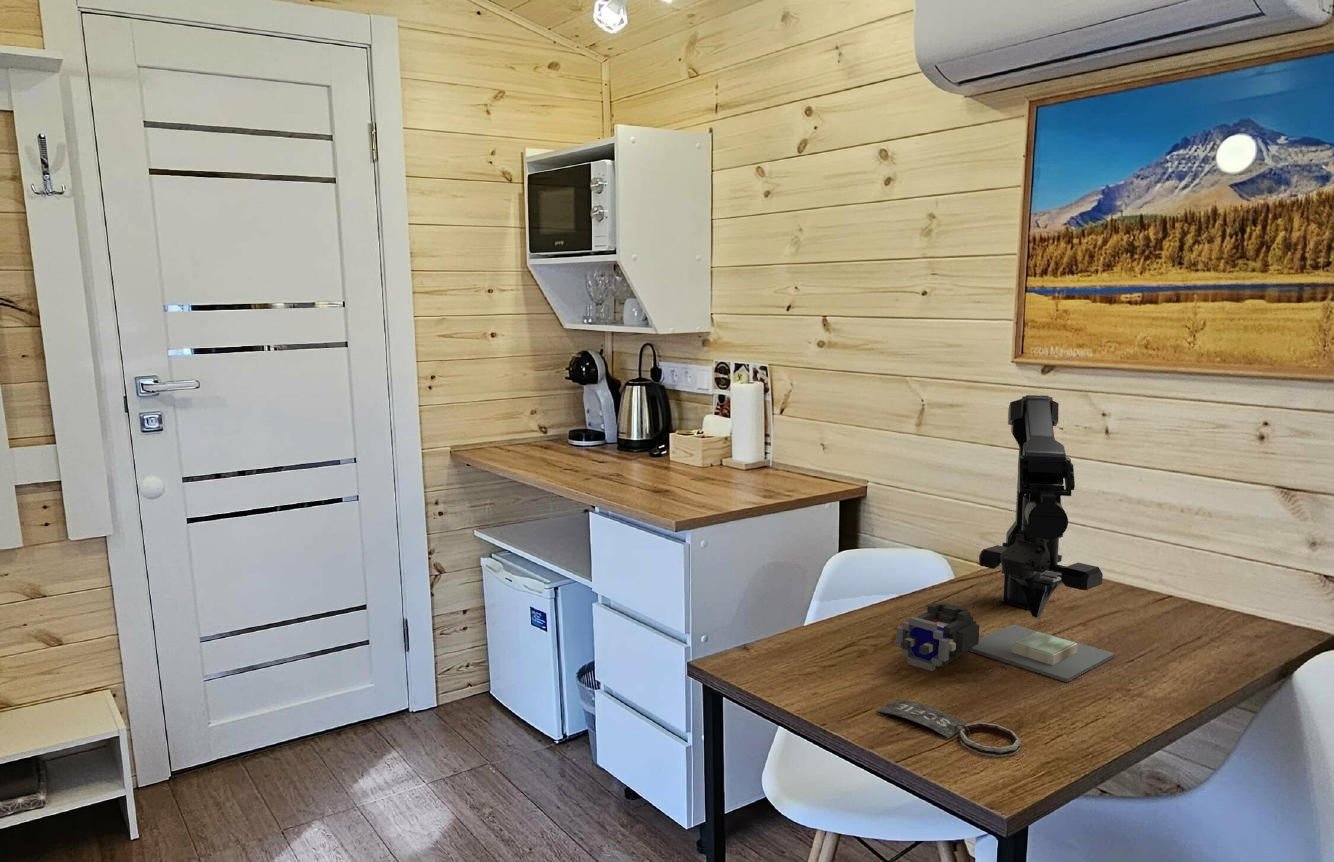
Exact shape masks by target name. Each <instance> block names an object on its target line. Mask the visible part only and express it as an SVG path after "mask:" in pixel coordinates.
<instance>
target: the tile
mask: <svg viewBox="0 0 1334 862" xmlns="http://www.w3.org/2000/svg"><path fill="white" fill-rule="evenodd" d="M1040 632H1041V631H1038V632H1036V633H1034V634H1031V635H1029V636H1027V637H1025V638H1023V639H1020V640H1018V641H1016V642H1014V643H1012V653H1015V654H1018V655H1022V656H1025V657H1028V658H1031V659H1034V660H1038V661H1041V662H1044V663H1047V664H1050V665H1054V664H1056V663H1058V662H1060V661H1062V660H1064V659H1066V658H1068V657H1070V656H1072V655H1074V654H1076V653H1077V645H1078V644H1077V643H1078V642H1077V643H1075V642H1076V641H1073V640H1070V641H1068V640H1069V639H1066V640H1065V638H1063V639H1061V638H1062V637H1059V636H1056V637H1054V636H1055V635H1052V634H1049V635H1047V634H1048V633H1045V634H1044V632H1042V633H1040ZM1051 635H1052V636H1051ZM1058 637H1059V638H1058ZM1072 641H1073V642H1072Z"/></svg>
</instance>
